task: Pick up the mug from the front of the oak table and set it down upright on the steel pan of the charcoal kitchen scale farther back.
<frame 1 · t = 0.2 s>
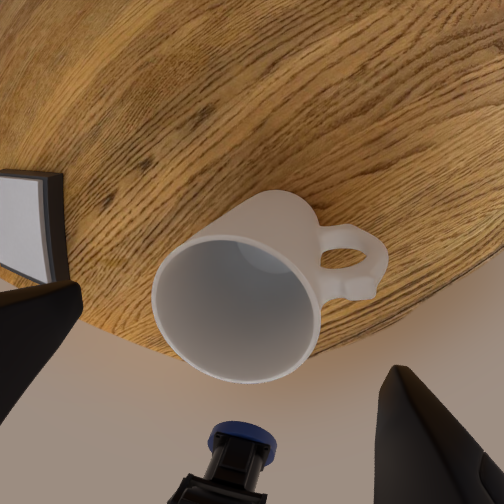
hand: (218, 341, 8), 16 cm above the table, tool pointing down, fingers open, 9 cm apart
mug: (299, 227, 22), on the table
scale: (32, 223, 29), on the table
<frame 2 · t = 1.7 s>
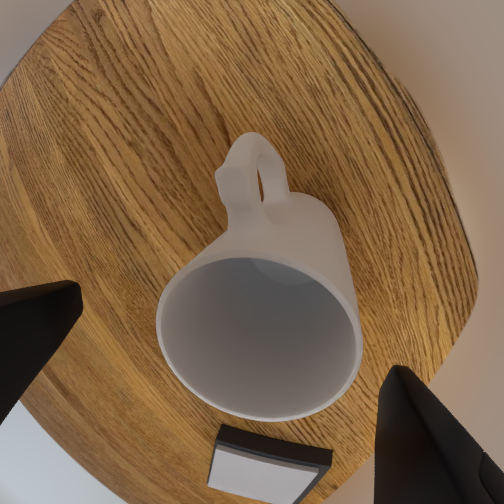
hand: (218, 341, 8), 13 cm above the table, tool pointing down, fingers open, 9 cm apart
mug: (290, 213, 20), on the table
scale: (265, 464, 30), on the table
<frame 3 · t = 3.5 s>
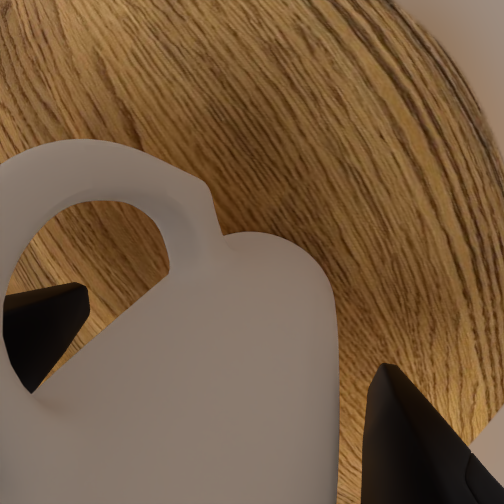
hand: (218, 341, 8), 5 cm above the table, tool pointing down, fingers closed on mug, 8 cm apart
mug: (248, 266, 12), on the table, touching gripper
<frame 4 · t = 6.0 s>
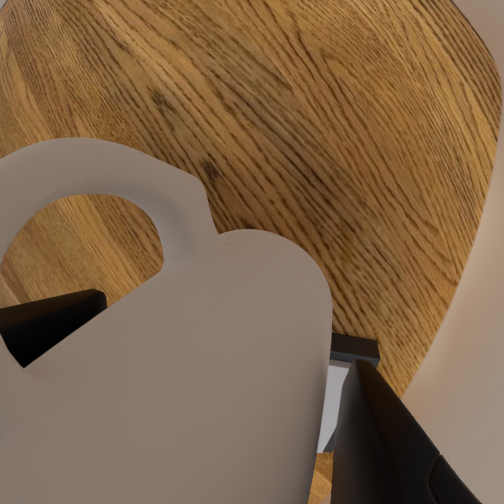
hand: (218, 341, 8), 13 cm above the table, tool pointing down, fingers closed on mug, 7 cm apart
mug: (247, 263, 12), point 8 cm above the table, touching gripper
scale: (284, 383, 24), on the table
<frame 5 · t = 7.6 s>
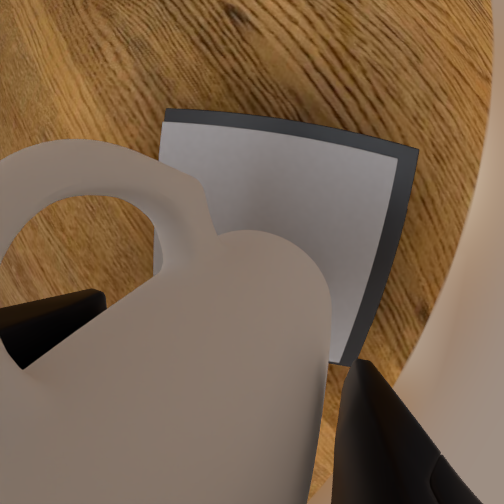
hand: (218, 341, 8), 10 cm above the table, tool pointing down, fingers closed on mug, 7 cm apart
mug: (246, 264, 12), point 5 cm above the table, touching gripper
scale: (275, 234, 17), on the table
when the fingers open (8 cm above the table, at t = 8.6 s): mug stays where it is, resting on scale.
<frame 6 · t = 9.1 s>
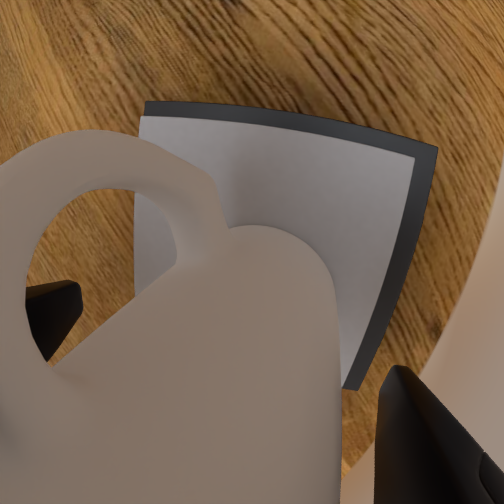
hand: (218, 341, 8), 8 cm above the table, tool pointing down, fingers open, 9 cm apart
mug: (250, 259, 12), point 3 cm above the table, touching scale
scale: (271, 243, 15), on the table
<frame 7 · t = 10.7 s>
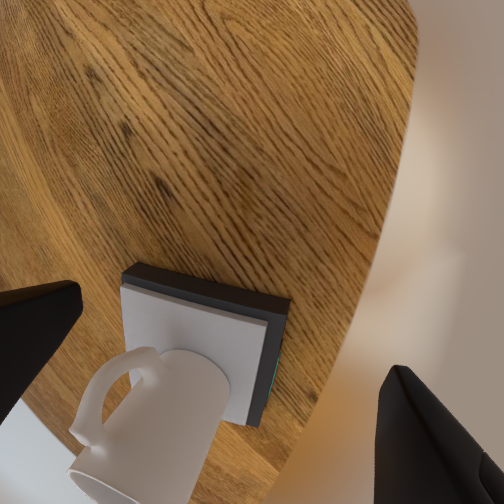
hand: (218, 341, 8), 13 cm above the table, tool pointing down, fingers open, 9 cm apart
mug: (186, 362, 22), point 3 cm above the table, touching scale
scale: (203, 345, 24), on the table
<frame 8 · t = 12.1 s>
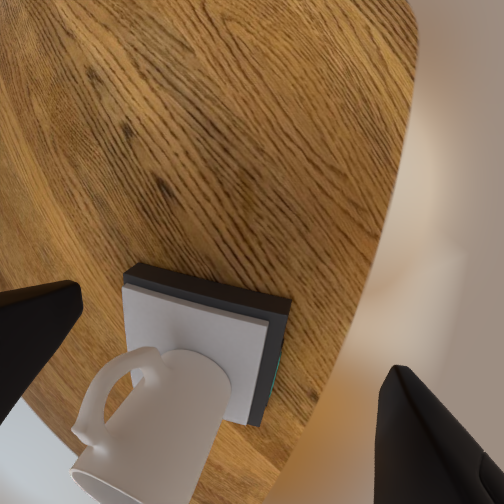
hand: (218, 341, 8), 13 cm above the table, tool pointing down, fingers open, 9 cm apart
mug: (187, 362, 22), point 3 cm above the table, touching scale
scale: (204, 344, 25), on the table
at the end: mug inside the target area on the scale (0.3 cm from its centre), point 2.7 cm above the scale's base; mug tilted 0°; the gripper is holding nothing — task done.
